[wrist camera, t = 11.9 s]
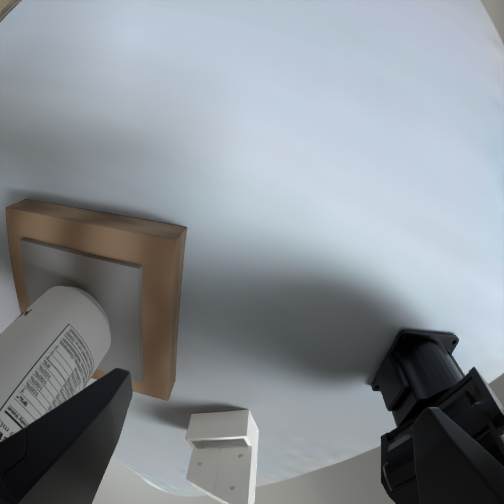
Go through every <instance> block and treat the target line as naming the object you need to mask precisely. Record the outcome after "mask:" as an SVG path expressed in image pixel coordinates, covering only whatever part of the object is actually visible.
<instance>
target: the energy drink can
mask: <svg viewBox="0 0 504 504" xmlns="http://www.w3.org/2000/svg"><path fill="white" fill-rule="evenodd" d="M110 344H111V334H110V327H109V321H108V318H107V315H106V313H105V311H104V310H103V308H102V307H101V305H100V304H99V303H98V302H97V301H96V300H95V299H94V298H93V297H92V296H91V295H90V294H88V293H87V292H85V291H83V290H82V289H79V288H76V287H65V286H55V287H52V288H50V289H49V290H47V291H46V292H45V293H44V294H43V295H42V296H41V297H39V298H38V299H37V300H36V301H35V302H34V303H33V304H32V305H31V306H30V307H28V308H27V309H26V310H25V311H24V312H23V313H22V314H21V315H20V316H19V317H18V318H17V319H16V320H15V321H14V322H13V323H12V324H10V325H9V326H8V327H7V328H6V329H5V330H4V331H3V332H2V333H1V334H0V441H2V440H4V439H6V438H8V437H9V436H11V435H13V434H14V433H16V432H18V431H19V430H21V429H22V428H24V427H27V425H29V424H30V423H32V422H34V421H35V420H37V419H38V418H40V417H41V416H43V415H44V414H46V413H48V412H49V411H51V410H52V409H54V408H55V407H57V406H58V405H60V404H61V403H63V402H65V401H66V400H68V399H69V398H71V397H72V396H74V395H75V394H77V393H78V392H80V391H81V390H83V389H84V388H85V386H86V385H87V383H88V381H89V380H90V378H91V377H92V375H93V373H94V372H95V370H96V369H97V367H98V365H99V364H100V362H101V361H102V359H103V357H104V356H105V354H106V353H107V351H108V349H109V348H110Z"/></svg>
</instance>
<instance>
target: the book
mask: <svg viewBox="0 0 504 504" xmlns="http://www.w3.org/2000/svg"><path fill="white" fill-rule="evenodd" d="M20 1H22V0H0V22H1V21H2V20H3V19H4V18H5V16H6V15H7V14H8V13H9V12H10V11H11V10H12V9H13V8H14V7H15V6H16V5H17V4H18V3H19V2H20Z"/></svg>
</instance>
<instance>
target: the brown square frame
mask: <svg viewBox="0 0 504 504" xmlns="http://www.w3.org/2000/svg"><path fill="white" fill-rule="evenodd" d="M6 221H7V232H8V242H9V250H10V257H11V264H12V270H13V276H14V282H15V287H16V292H17V297H18V302H19V306H20V311H21V314H22V313H23V312H24V311H25V310H26V309H27V308H28V307H30V306H31V305H32V304H33V303H34V302H35V301H36V300H37V299H38V298H39V297H41V296H42V295H43V294H44V293H45V292H46V291H47V290H49V289H50V288H52V287H55V286H65V287H76V288H79V289H82V290H83V291H85V292H87V293H88V294H90V295H91V296H92V297H93V298H94V299H95V300H96V301H97V302H98V303H99V304H100V305H101V307H102V308H103V310H104V311H105V313H106V315H107V318H108V321H109V327H110V334H111V344H110V348H109V349H108V351H107V353H106V354H105V356H104V357H103V359H102V361H101V362H100V364H99V365H98V367H97V369H96V370H95V372H94V373H93V375H92V377H91V378H94V379H97V380H98V379H100V378H101V377H103V376H104V375H106V374H107V373H109V372H110V371H112V370H113V369H115V368H121V369H124V370H128V371H129V372H130V373H131V380H132V389H133V391H134V392H138V393H141V394H145V395H148V396H152V397H156V398H159V399H163V400H167V401H168V400H169V397H170V394H171V391H172V388H173V386H174V383H175V374H176V352H177V334H178V318H179V304H180V292H181V280H182V269H183V259H184V249H185V240H186V231H187V227H181V226H176V225H170V224H165V223H159V222H154V221H148V220H143V219H137V218H132V217H126V216H120V215H115V214H109V213H103V212H98V211H92V210H86V209H81V208H75V207H69V206H63V205H57V204H51V203H46V202H40V201H34V200H28V199H25V200H22V201H20V202H18V203H15V204H13V205H10V206H8V207H6Z"/></svg>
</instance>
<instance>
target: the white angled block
mask: <svg viewBox="0 0 504 504" xmlns="http://www.w3.org/2000/svg"><path fill="white" fill-rule="evenodd" d="M258 433H259V430H258V428H257V426H256V424H255V421H254V419H253V417H252V415H251V413H250V410H249V409H247V410H238V411H227V412H215V413H200V414H191V418H190V422H189V426H188V430H187V434H186V438H185V439H186V440H187V442H188V443H189V444H190V446H191V447H192V448H193V451H192V455H191V460H190V464H189V469H188V473H187V478H186V479H187V480H188V481H189V483H190V484H191V485H192V486H193V487H195V488H196V489H198V490H200V491H202V492H203V493H205V494H207V495H209V496H210V497H212V498H214V499H216V500H218V501H220V502H221V503H223V504H254V500H255V484H256V468H257V451H258Z"/></svg>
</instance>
